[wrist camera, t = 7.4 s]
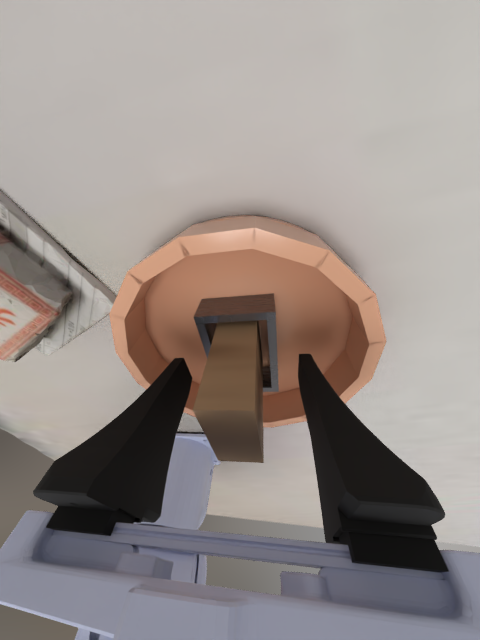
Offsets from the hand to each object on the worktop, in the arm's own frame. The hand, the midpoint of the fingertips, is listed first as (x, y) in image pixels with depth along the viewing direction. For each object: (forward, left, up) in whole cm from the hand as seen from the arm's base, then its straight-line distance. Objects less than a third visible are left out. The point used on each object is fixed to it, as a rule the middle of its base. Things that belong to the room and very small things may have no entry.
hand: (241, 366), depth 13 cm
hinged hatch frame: (0, 0, -3) cm, 3 cm away
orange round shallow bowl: (0, 0, -4) cm, 4 cm away
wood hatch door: (0, 0, -3) cm, 3 cm away
